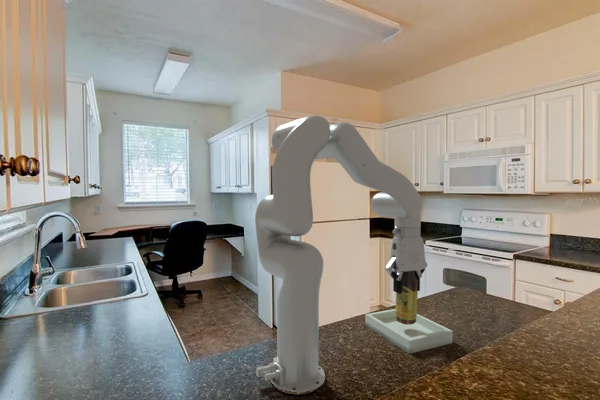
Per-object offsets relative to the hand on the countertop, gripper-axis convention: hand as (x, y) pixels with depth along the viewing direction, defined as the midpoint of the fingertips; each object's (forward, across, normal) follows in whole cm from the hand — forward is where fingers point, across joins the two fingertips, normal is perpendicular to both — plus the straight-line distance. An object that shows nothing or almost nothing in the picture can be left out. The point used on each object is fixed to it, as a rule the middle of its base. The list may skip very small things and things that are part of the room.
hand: (406, 290), depth 95 cm
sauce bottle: (+10, 0, 0) cm, 10 cm away
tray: (+13, 0, 0) cm, 13 cm away
